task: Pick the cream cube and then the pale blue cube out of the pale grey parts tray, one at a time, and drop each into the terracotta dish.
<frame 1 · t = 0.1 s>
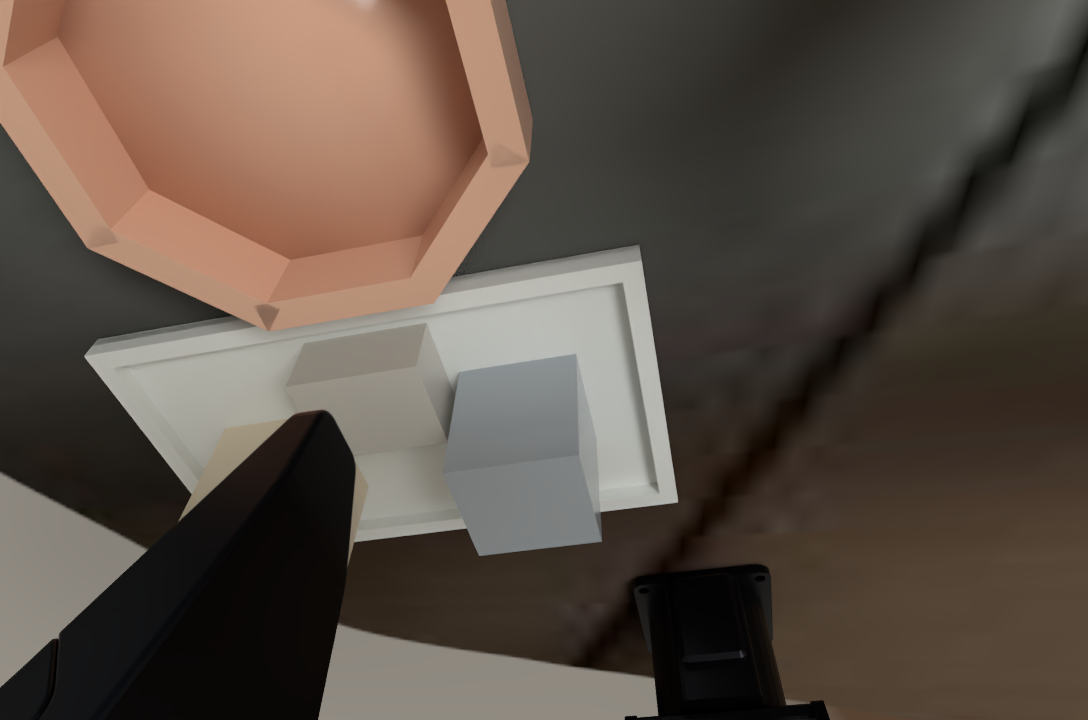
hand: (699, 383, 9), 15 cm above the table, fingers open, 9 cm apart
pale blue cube: (530, 406, 28), resting on parts tray
terracotta dish: (287, 72, 21), on the table
parts tray: (408, 417, 29), on the table
beige grey block: (382, 370, 27), resting on parts tray
cream cube: (299, 458, 30), resting on parts tray
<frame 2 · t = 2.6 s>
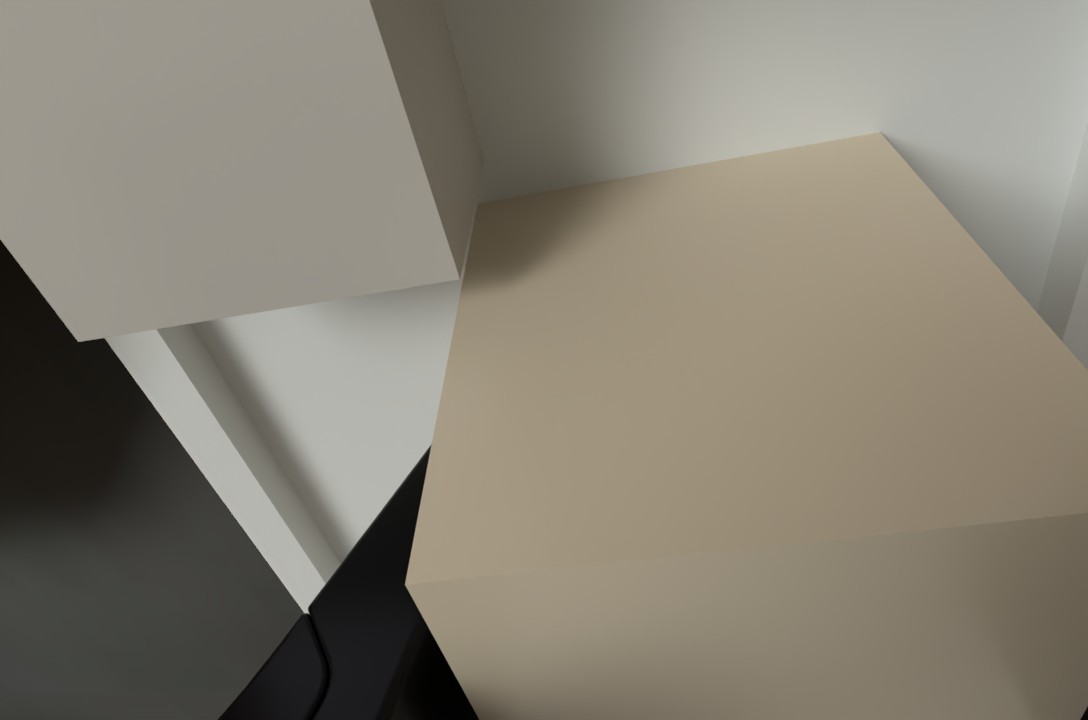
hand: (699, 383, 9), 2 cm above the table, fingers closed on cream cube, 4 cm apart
cream cube: (686, 327, 9), resting on parts tray, touching gripper
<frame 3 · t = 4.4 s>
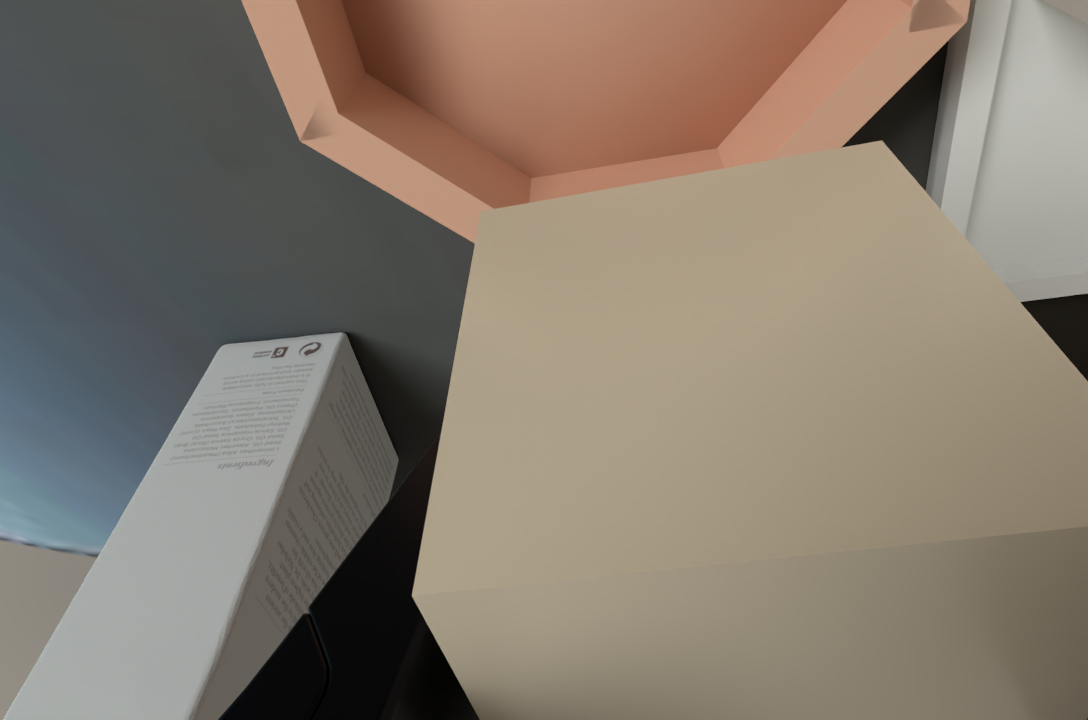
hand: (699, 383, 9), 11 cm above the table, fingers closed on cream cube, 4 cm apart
skincare box: (318, 401, 24), on the table
cream cube: (689, 333, 9), point 10 cm above the table, touching gripper
when the fingers open (4 cm above the table, at t = 6.1 s): cream cube drops 2 cm, resting on terracotta dish.
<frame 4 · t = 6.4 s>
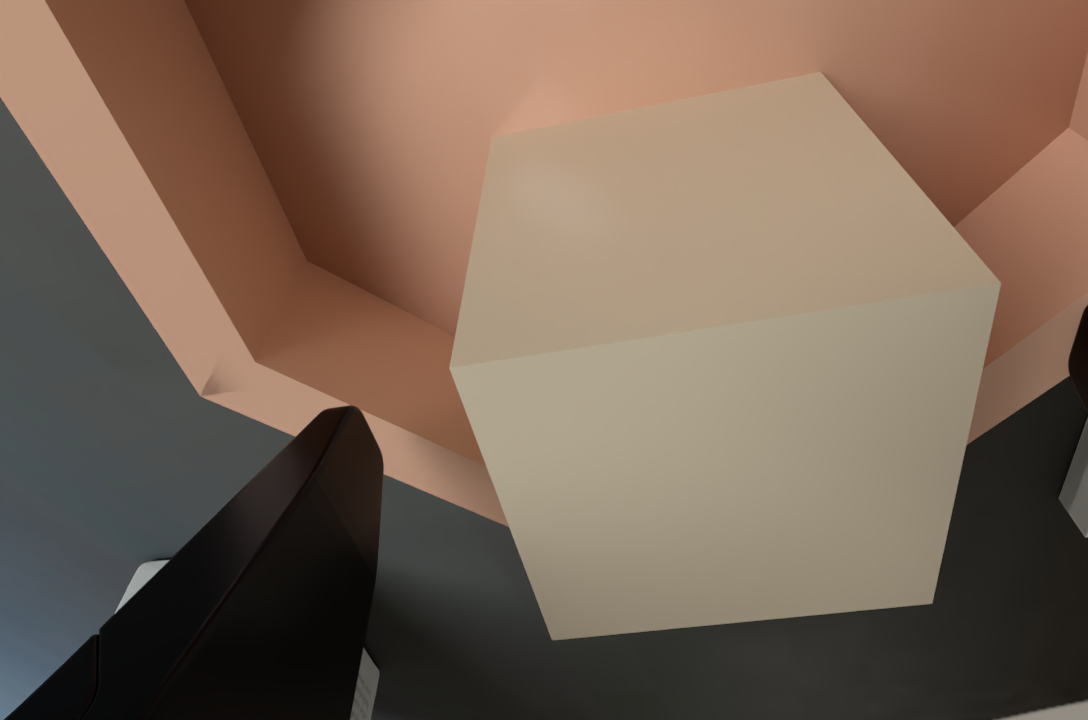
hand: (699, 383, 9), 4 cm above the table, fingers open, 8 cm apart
terracotta dish: (638, 25, 10), on the table
skincare box: (273, 613, 19), on the table
cream cube: (667, 246, 11), resting on terracotta dish
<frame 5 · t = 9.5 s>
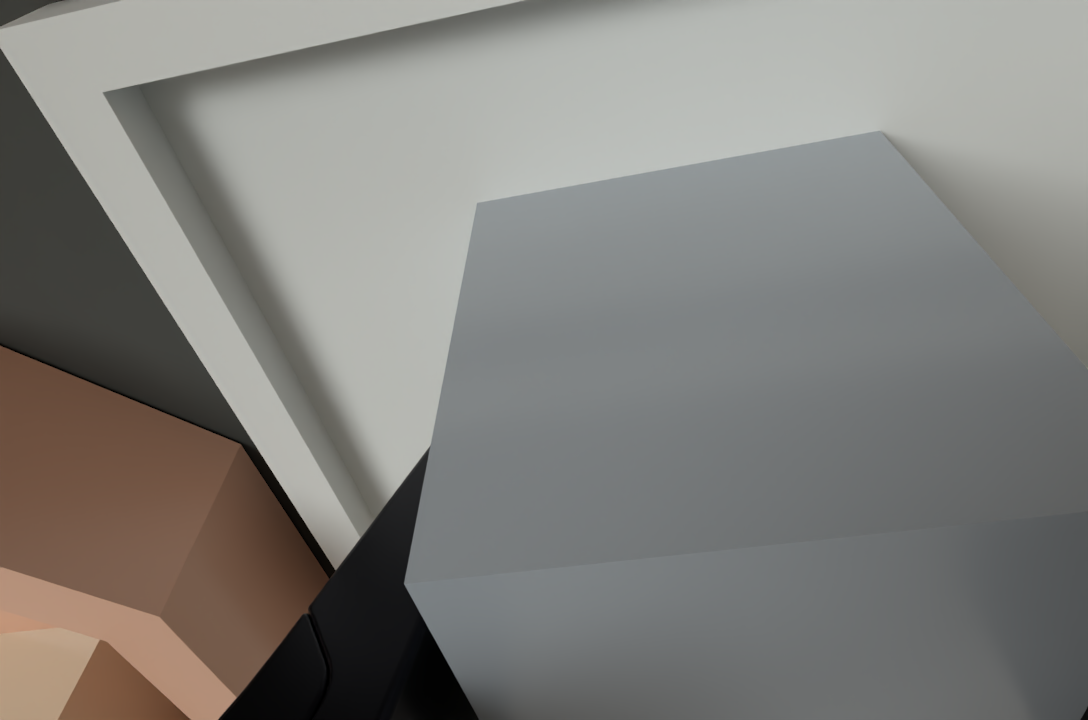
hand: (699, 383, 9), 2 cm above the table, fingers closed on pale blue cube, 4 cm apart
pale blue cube: (686, 326, 9), resting on parts tray, touching gripper
parts tray: (706, 539, 13), on the table
cream cube: (76, 687, 16), resting on terracotta dish
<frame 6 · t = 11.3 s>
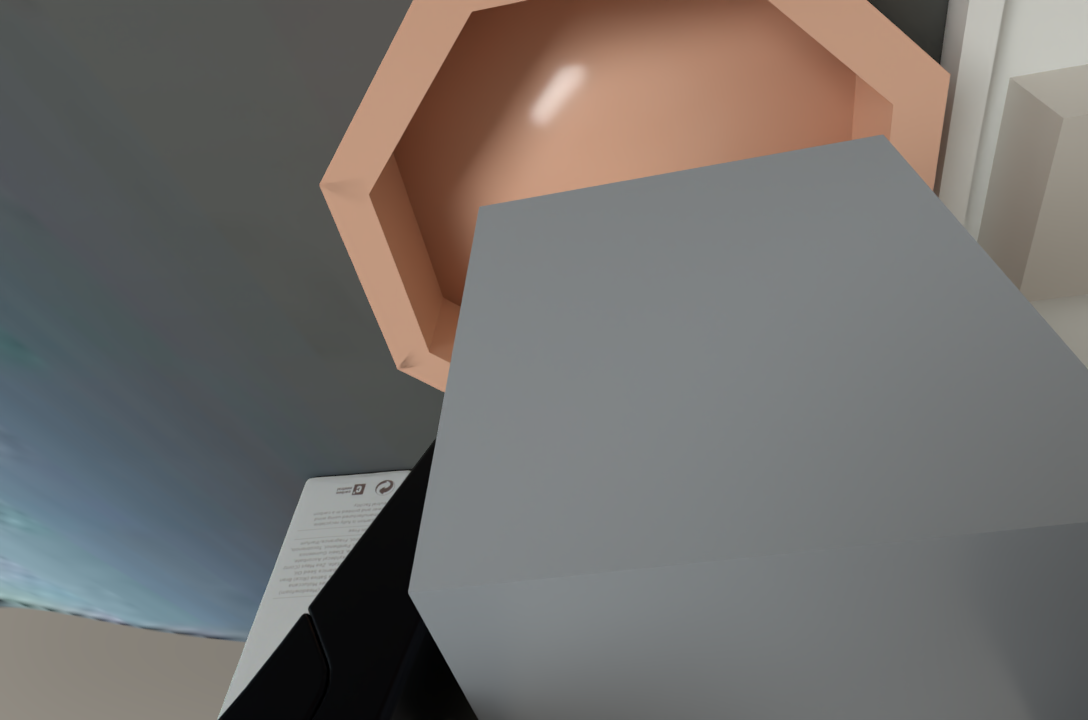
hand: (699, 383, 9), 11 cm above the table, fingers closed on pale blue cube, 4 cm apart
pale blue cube: (689, 330, 9), point 10 cm above the table, touching gripper
terracotta dish: (624, 185, 19), on the table
beige grey block: (1071, 158, 18), resting on parts tray
skincare box: (384, 517, 29), on the table
when the fingers open (4 cm above the table, at t = 13.0 s): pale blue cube drops 2 cm, resting on terracotta dish.
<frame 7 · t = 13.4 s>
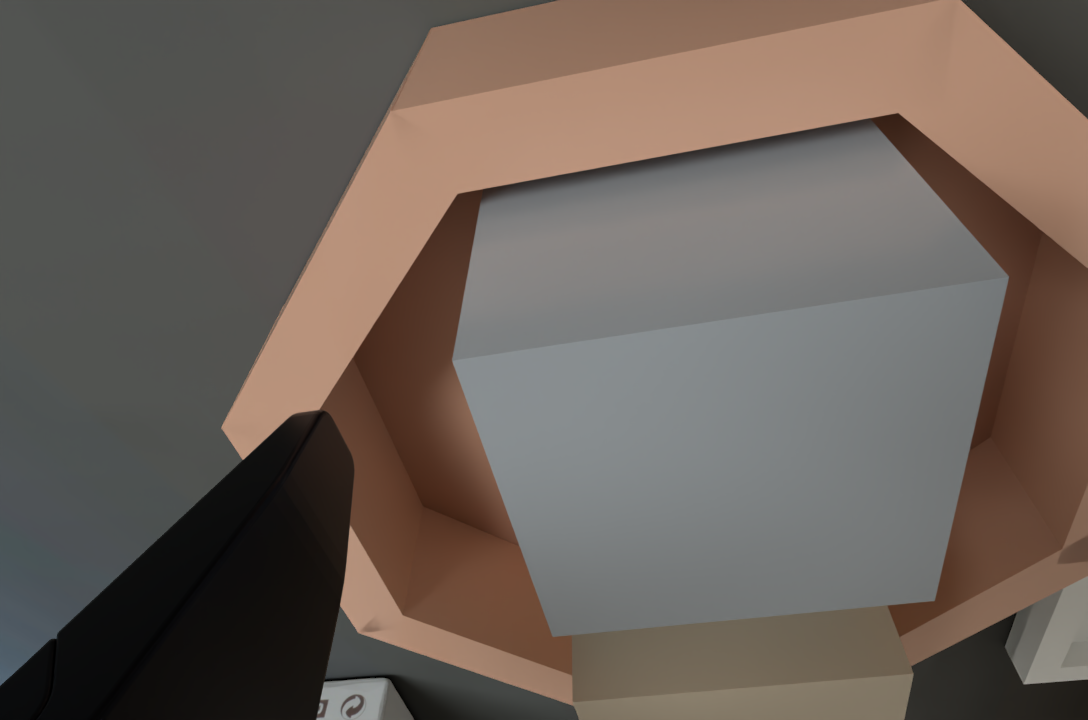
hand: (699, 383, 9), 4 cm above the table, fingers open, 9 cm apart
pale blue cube: (669, 242, 11), resting on terracotta dish
terracotta dish: (678, 369, 13), on the table
skincare box: (356, 718, 23), on the table
cream cube: (695, 499, 15), resting on terracotta dish
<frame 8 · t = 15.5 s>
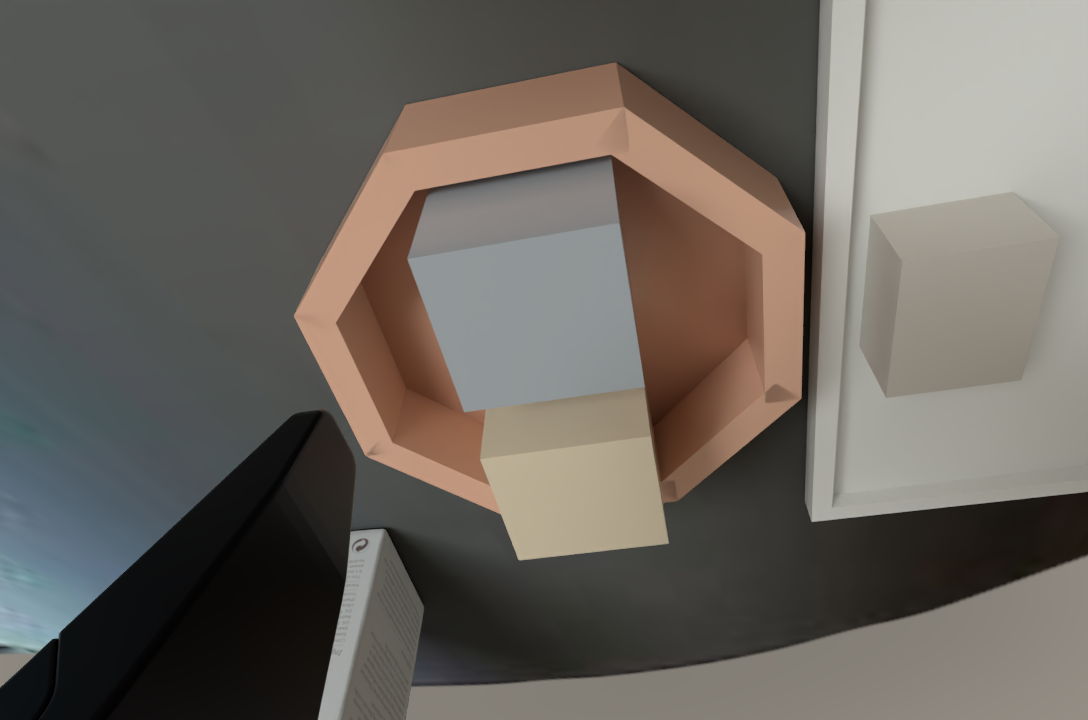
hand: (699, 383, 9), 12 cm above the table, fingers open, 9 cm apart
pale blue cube: (539, 218, 20), resting on terracotta dish
terracotta dish: (557, 296, 22), on the table
parts tray: (1027, 251, 21), on the table
beige grey block: (929, 274, 21), resting on parts tray
skincare box: (362, 568, 32), on the table
cream cube: (576, 382, 24), resting on terracotta dish
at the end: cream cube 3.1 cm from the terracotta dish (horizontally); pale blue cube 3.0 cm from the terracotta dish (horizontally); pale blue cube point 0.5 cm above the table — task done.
